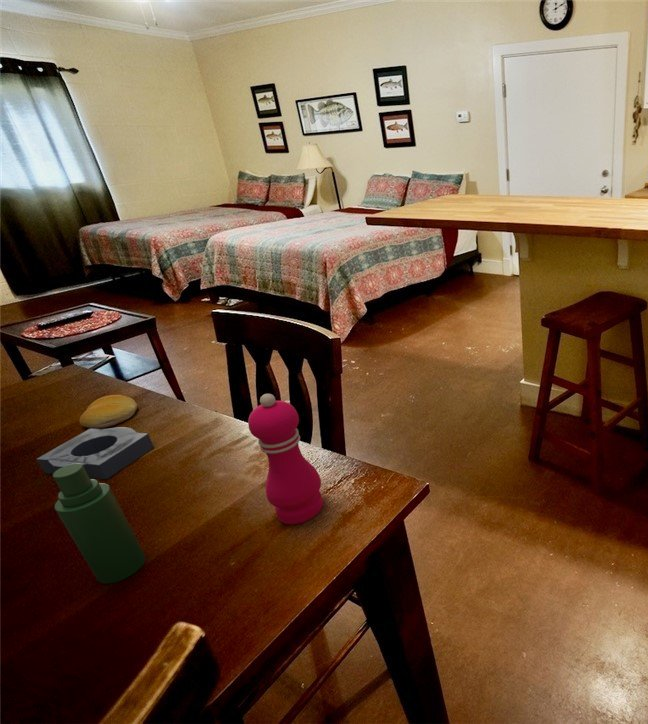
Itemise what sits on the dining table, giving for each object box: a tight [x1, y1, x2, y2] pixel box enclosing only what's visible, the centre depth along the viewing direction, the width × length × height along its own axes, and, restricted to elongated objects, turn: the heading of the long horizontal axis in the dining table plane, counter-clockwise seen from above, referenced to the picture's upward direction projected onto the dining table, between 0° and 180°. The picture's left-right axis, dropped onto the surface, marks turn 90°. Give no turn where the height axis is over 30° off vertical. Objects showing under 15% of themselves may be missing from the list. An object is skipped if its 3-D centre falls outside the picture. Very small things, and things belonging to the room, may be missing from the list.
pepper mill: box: [247, 393, 324, 525], centre depth 67 cm, size 7×7×20 cm
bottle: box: [52, 463, 147, 585], centre depth 58 cm, size 5×5×16 cm
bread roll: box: [79, 394, 138, 429], centre depth 94 cm, size 8×9×4 cm
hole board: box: [36, 426, 155, 480], centre depth 82 cm, size 12×11×3 cm
